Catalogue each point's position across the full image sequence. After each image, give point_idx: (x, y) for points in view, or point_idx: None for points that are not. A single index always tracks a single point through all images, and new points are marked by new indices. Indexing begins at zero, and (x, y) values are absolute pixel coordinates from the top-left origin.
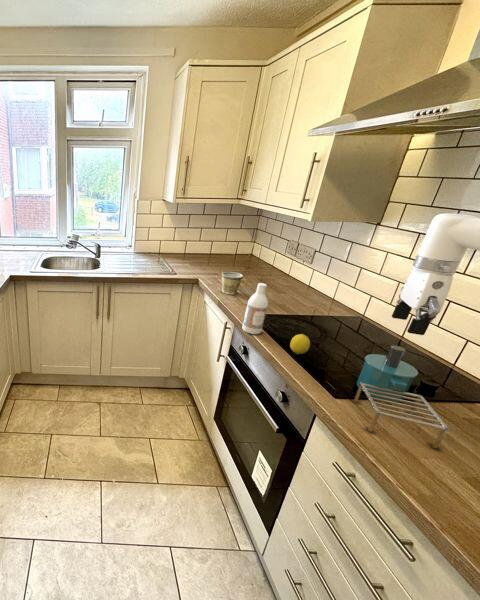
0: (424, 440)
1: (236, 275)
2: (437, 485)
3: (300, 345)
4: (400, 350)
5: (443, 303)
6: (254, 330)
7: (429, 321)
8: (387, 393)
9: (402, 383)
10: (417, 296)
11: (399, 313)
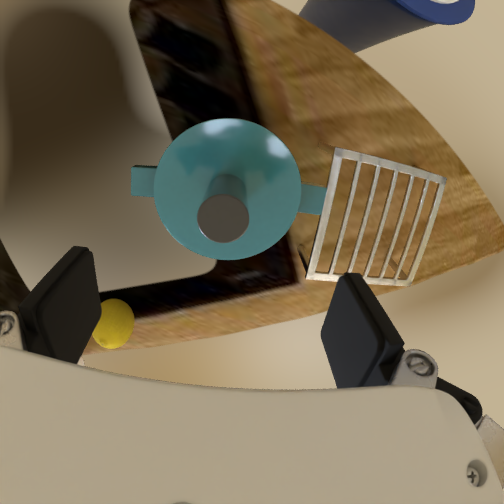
0: (400, 173)
1: None
2: (469, 220)
3: (130, 333)
4: (246, 220)
5: (500, 489)
6: (80, 364)
7: (421, 364)
8: (343, 233)
9: (321, 196)
10: None
11: (85, 320)
